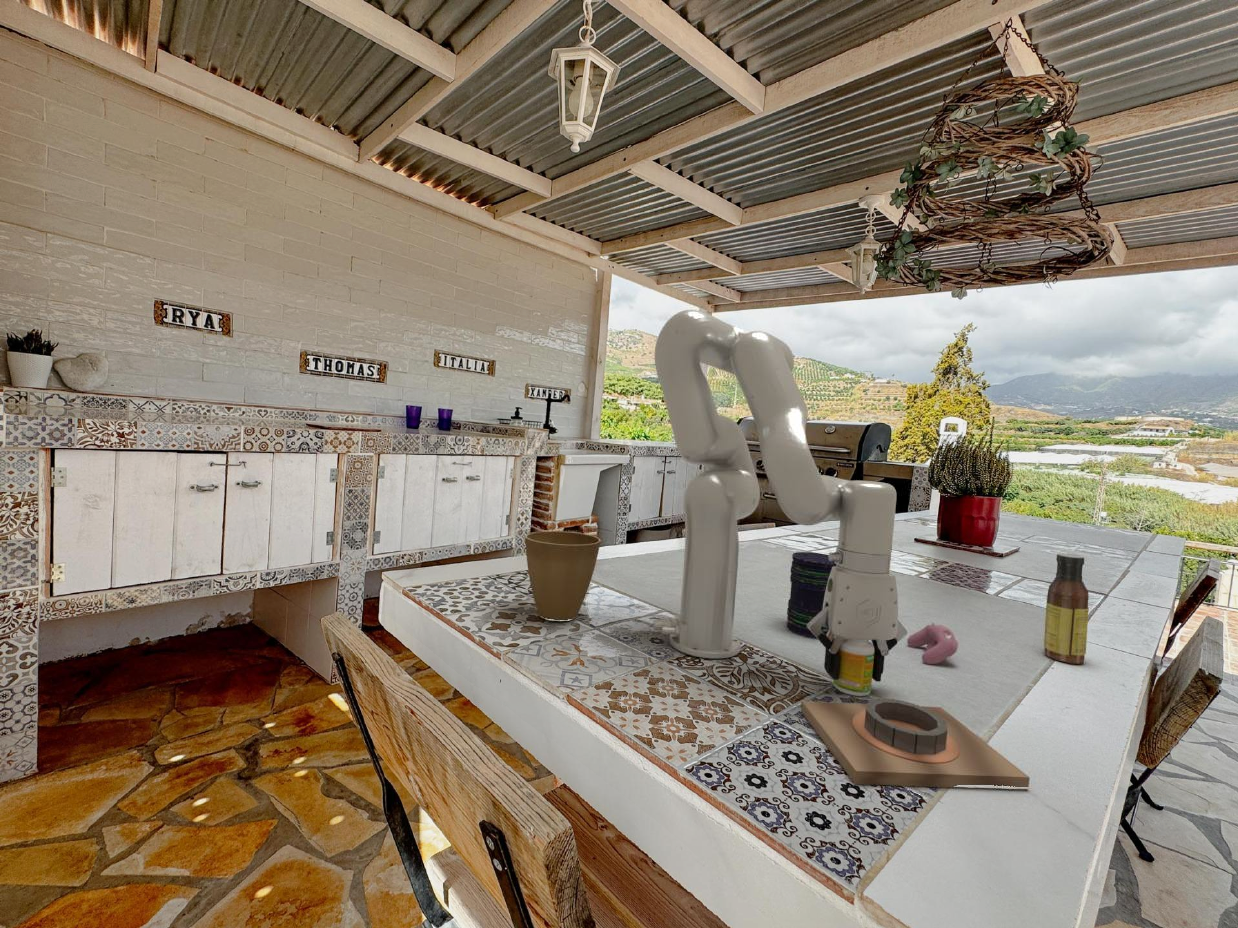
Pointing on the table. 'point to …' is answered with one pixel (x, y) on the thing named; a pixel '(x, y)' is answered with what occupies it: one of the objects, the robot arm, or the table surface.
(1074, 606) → the sauce bottle
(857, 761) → the socket board
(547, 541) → the plant pot
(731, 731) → the table surface
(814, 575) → the storage jar
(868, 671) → the supplement bottle
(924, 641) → the video game controller
